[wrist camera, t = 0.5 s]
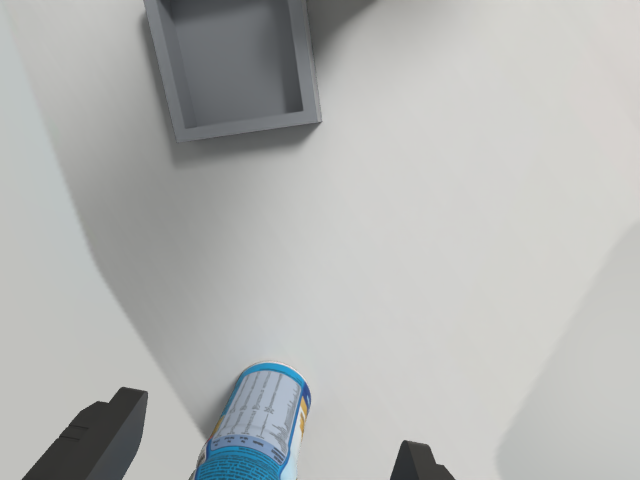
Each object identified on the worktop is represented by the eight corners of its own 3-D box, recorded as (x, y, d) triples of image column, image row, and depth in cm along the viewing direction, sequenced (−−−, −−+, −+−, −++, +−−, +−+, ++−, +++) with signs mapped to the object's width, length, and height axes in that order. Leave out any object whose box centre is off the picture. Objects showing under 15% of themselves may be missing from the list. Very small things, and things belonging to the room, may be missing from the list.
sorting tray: (158, -9, 33) (138, -20, 31) (300, -38, 32) (294, -53, 29) (191, 140, 37) (176, 142, 34) (322, 121, 35) (317, 122, 32)
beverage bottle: (288, 345, 42) (221, 536, 23) (327, 407, 44) (294, 633, 25) (222, 374, 44) (110, 571, 25) (262, 433, 46) (186, 658, 27)
